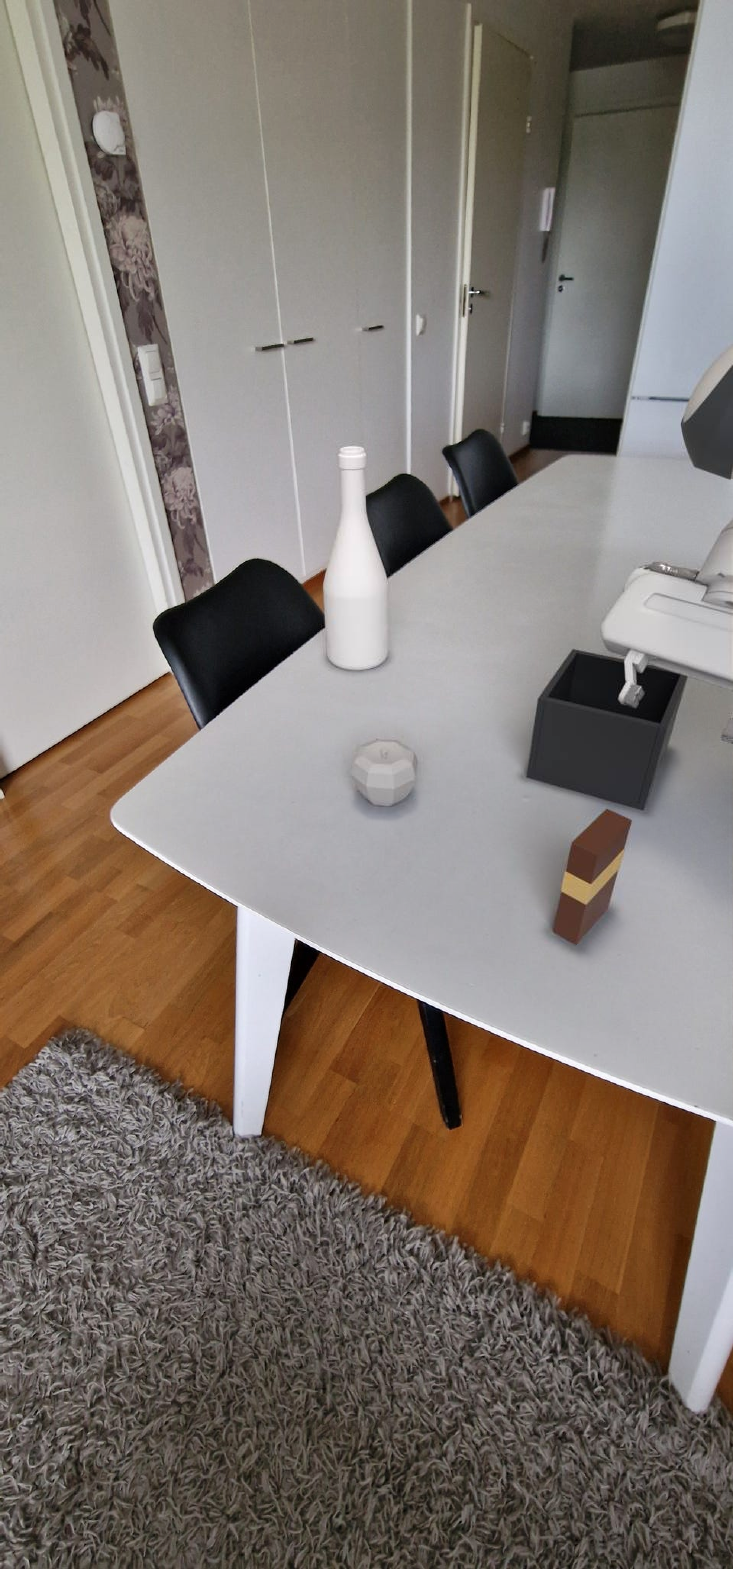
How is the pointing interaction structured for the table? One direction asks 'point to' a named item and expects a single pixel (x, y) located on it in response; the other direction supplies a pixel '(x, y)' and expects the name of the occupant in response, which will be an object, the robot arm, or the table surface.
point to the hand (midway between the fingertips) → (676, 722)
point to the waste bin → (603, 729)
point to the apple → (384, 771)
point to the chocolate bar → (591, 875)
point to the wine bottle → (355, 578)
